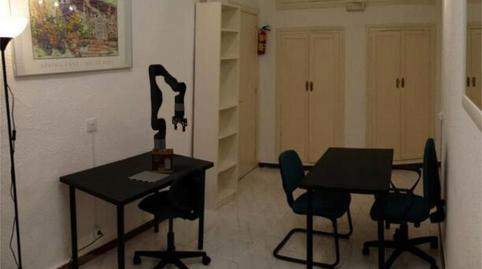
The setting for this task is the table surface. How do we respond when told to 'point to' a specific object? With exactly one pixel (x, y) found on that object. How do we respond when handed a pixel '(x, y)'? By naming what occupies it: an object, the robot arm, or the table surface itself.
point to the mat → (149, 176)
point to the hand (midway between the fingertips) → (179, 130)
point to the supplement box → (162, 161)
